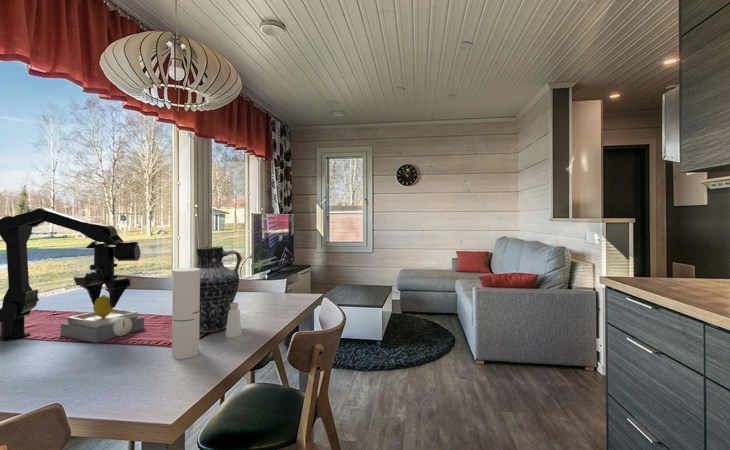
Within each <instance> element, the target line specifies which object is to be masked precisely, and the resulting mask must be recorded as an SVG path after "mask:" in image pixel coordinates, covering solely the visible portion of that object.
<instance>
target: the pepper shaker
mask: <svg viewBox="0 0 730 450" xmlns="http://www.w3.org/2000/svg"><path fill="white" fill-rule="evenodd" d="M240 336H242V321H241V314H240V309H239V303H238V302H233V303H230V310H229V312H228V320H227V325H226V331H225V337H227V338H237V337H240Z"/></svg>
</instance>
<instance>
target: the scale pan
mask: <svg viewBox="0 0 730 450" xmlns="http://www.w3.org/2000/svg"><path fill="white" fill-rule="evenodd" d="M138 313H139V312H138V311H135V310H128V309H121V308H115V307H114V308H113V310H112V312H111V313H110V314H109V315H107V316H106V317H105V318H102V317H100V316H98V315H96V314H95V312H94V311H90V312H86V313H81V314H77V315H72V316H68V317H67V322H68V323H69V324H74V325H79V326H85V327H90V328H100V327H103V326H107V325H111V324H114V323H115V322H116V321H117V320H118V319H120V318H123V317H126V318H129V319H133V318H137V317H139V316H138Z"/></svg>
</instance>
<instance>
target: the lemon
mask: <svg viewBox="0 0 730 450" xmlns="http://www.w3.org/2000/svg"><path fill="white" fill-rule="evenodd" d="M112 310H113V308H111V305H110V296H108V295H105V294H103V295H100V297H99V298H98V299H96V301H95V303H94V305H93V312H95V314H96V315H98V316H100V317H102V318H105V317H106V316H107V315H109V314H110V313H111V312H112Z"/></svg>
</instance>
